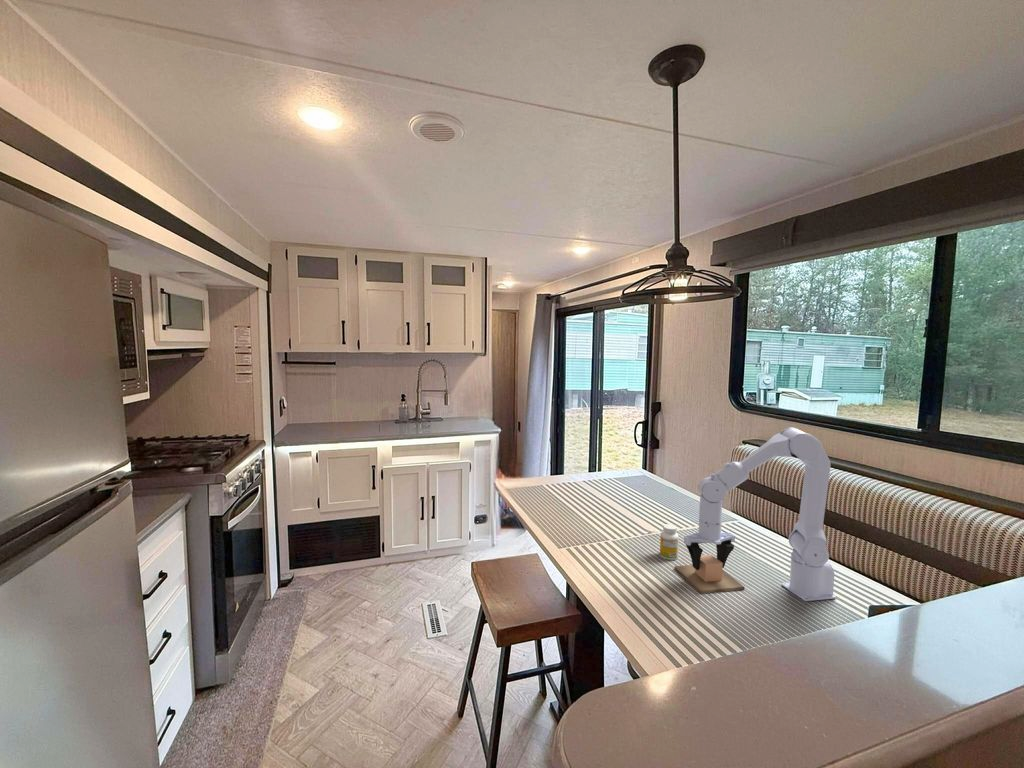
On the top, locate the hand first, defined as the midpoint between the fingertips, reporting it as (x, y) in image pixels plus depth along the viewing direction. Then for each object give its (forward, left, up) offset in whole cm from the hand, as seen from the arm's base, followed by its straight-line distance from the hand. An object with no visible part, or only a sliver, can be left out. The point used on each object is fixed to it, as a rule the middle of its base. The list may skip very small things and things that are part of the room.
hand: (708, 567), depth 118 cm
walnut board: (0, 0, -3) cm, 3 cm away
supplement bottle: (+4, -14, -4) cm, 15 cm away
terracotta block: (0, 0, -3) cm, 3 cm away
